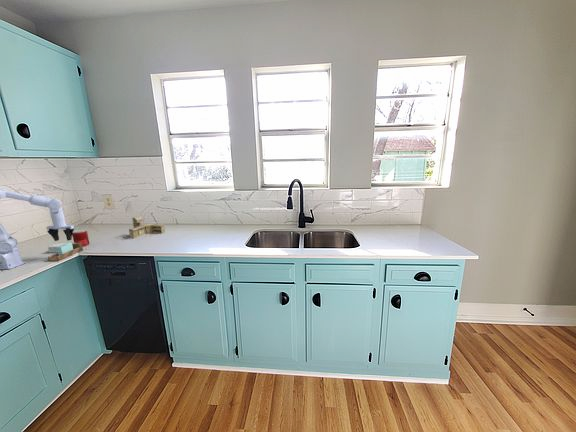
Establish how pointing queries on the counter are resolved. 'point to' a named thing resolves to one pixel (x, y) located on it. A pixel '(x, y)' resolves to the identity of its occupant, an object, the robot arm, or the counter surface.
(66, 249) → the door panel
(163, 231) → the toy kitchen set
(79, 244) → the track
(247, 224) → the counter surface
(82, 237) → the canned food
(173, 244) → the counter surface
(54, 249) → the skincare box
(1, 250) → the robot arm
